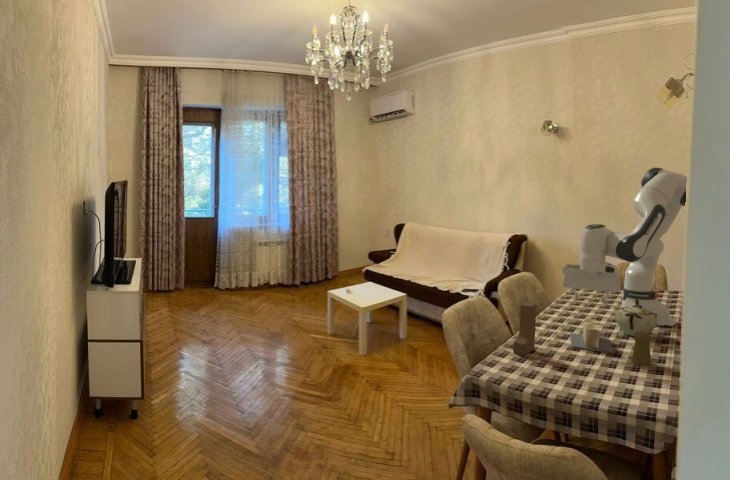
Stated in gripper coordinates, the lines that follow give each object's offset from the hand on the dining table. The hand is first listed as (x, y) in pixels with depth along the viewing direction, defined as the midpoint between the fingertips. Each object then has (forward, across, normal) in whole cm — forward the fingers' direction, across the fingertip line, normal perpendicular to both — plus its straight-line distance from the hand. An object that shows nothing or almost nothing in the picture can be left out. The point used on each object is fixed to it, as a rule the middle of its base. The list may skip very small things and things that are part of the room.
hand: (589, 300), depth 169 cm
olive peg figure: (+18, +17, -14) cm, 28 cm away
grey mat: (+18, +1, -1) cm, 18 cm away
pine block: (+13, +1, +7) cm, 15 cm away
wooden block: (+18, -22, -20) cm, 35 cm away
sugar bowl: (+18, +19, +19) cm, 32 cm away
